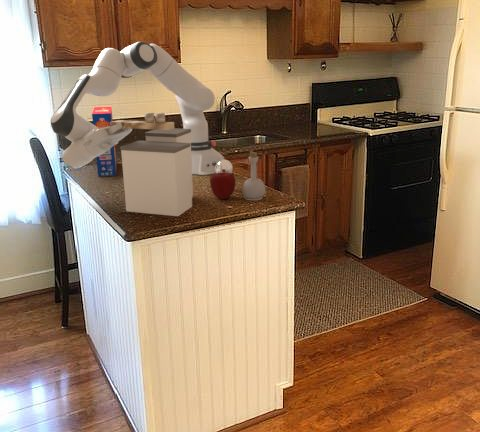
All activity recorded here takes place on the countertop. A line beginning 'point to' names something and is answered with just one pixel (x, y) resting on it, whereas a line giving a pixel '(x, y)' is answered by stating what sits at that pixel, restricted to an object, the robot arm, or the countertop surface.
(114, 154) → the pasta box
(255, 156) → the potion bottle
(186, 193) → the counter block
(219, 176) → the apple
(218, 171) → the light bulb
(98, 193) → the countertop surface
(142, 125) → the serving board
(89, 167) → the countertop surface
